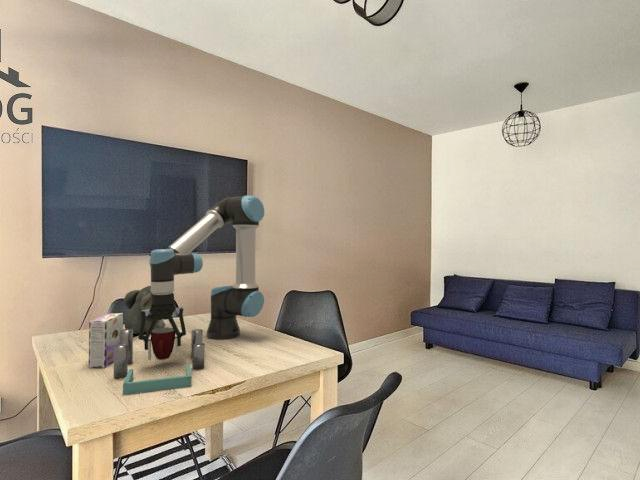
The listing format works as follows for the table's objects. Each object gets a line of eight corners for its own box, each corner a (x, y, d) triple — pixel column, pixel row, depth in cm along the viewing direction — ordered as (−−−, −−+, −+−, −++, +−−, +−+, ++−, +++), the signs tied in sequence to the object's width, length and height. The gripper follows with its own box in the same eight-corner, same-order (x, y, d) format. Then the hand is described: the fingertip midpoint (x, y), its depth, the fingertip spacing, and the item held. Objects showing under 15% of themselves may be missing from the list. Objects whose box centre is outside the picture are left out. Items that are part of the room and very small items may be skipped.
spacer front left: (204, 365, 129) (204, 342, 129) (204, 368, 125) (204, 345, 125) (192, 366, 128) (192, 343, 128) (192, 370, 124) (192, 346, 124)
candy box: (107, 355, 139) (108, 312, 139) (123, 355, 139) (124, 312, 139) (87, 368, 125) (88, 320, 125) (105, 368, 125) (106, 320, 126)
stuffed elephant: (171, 325, 189) (171, 273, 189) (159, 335, 168) (160, 277, 168) (131, 326, 186) (132, 274, 186) (115, 337, 165) (116, 278, 165)
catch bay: (190, 371, 123) (190, 362, 123) (191, 386, 110) (191, 376, 110) (129, 378, 116) (129, 369, 116) (122, 394, 104) (123, 384, 104)
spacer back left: (202, 354, 141) (202, 328, 141) (202, 357, 137) (202, 331, 137) (191, 355, 140) (191, 329, 140) (191, 358, 136) (191, 332, 136)
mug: (175, 362, 125) (175, 333, 125) (150, 365, 122) (150, 336, 122) (175, 353, 135) (174, 326, 135) (151, 356, 131) (151, 328, 131)
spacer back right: (133, 361, 133) (133, 328, 133) (131, 364, 129) (132, 331, 129) (120, 362, 131) (121, 329, 131) (119, 366, 127) (119, 332, 127)
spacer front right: (128, 373, 120) (128, 343, 120) (126, 377, 117) (127, 346, 117) (114, 374, 119) (115, 344, 119) (112, 379, 115) (112, 347, 115)
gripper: (193, 289, 135) (193, 350, 135) (130, 293, 128) (131, 357, 128) (194, 292, 128) (194, 356, 128) (128, 296, 121) (128, 364, 121)
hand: (163, 357), depth 128 cm, fingers closed on mug, 8 cm apart
